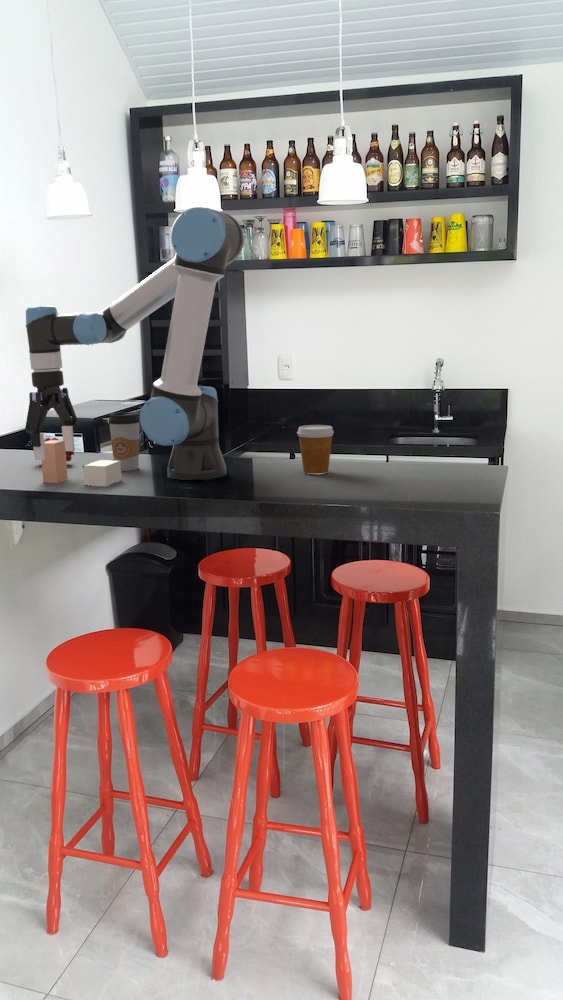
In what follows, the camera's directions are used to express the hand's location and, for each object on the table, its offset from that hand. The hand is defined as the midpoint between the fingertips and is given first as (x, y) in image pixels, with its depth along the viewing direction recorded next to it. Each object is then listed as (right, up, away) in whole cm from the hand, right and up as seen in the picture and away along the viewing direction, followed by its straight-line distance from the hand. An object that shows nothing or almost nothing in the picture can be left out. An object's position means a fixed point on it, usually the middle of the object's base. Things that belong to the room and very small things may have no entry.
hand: (55, 455), depth 210 cm
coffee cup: (+15, -3, +17) cm, 22 cm away
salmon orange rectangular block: (0, -6, +2) cm, 7 cm away
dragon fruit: (-7, -2, +25) cm, 26 cm away
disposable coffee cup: (+66, -4, +6) cm, 66 cm away
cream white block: (+13, -7, -2) cm, 14 cm away
